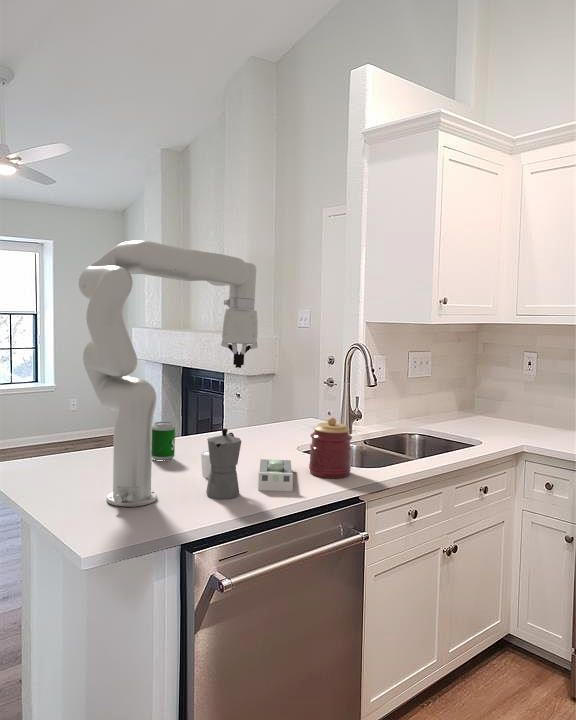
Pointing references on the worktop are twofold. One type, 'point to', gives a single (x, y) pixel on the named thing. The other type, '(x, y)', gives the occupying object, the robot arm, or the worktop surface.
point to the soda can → (163, 441)
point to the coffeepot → (223, 466)
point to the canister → (330, 450)
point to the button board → (275, 477)
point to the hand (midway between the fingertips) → (238, 367)
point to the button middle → (275, 466)
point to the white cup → (205, 464)
